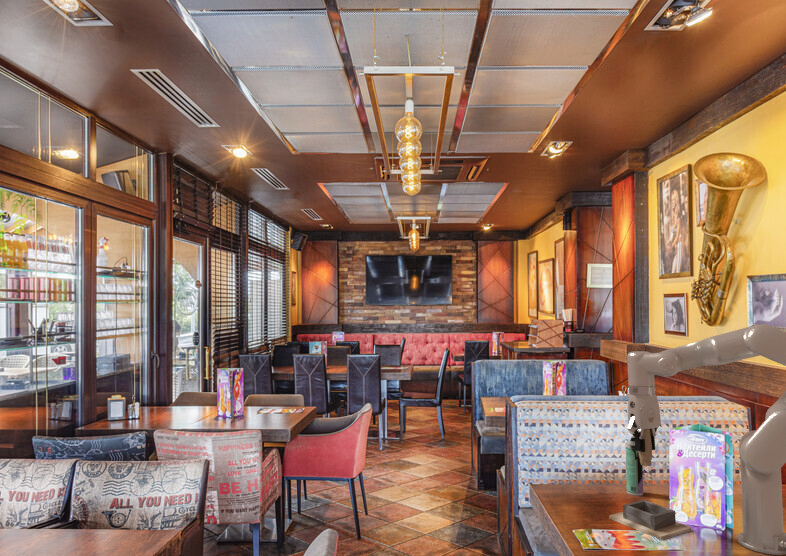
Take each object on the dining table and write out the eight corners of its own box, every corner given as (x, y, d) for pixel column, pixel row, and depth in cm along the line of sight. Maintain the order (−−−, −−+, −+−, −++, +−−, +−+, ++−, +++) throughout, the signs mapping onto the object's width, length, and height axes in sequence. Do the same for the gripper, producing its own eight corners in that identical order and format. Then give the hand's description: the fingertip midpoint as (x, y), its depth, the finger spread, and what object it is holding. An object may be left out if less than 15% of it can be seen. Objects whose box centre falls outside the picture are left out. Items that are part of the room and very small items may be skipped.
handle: (645, 468, 163) (642, 418, 165) (632, 462, 170) (630, 414, 171) (659, 467, 164) (656, 417, 165) (646, 461, 171) (643, 414, 172)
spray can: (646, 495, 191) (644, 438, 192) (630, 495, 191) (629, 438, 192) (639, 490, 196) (637, 435, 198) (624, 490, 196) (623, 435, 198)
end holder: (691, 530, 161) (690, 513, 161) (661, 539, 154) (660, 522, 154) (638, 510, 176) (638, 495, 177) (609, 518, 170) (609, 502, 170)
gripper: (634, 394, 161) (637, 456, 160) (669, 390, 169) (673, 449, 168) (613, 391, 168) (616, 451, 167) (648, 387, 176) (652, 444, 174)
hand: (645, 449), depth 167 cm, fingers closed on handle, 4 cm apart
